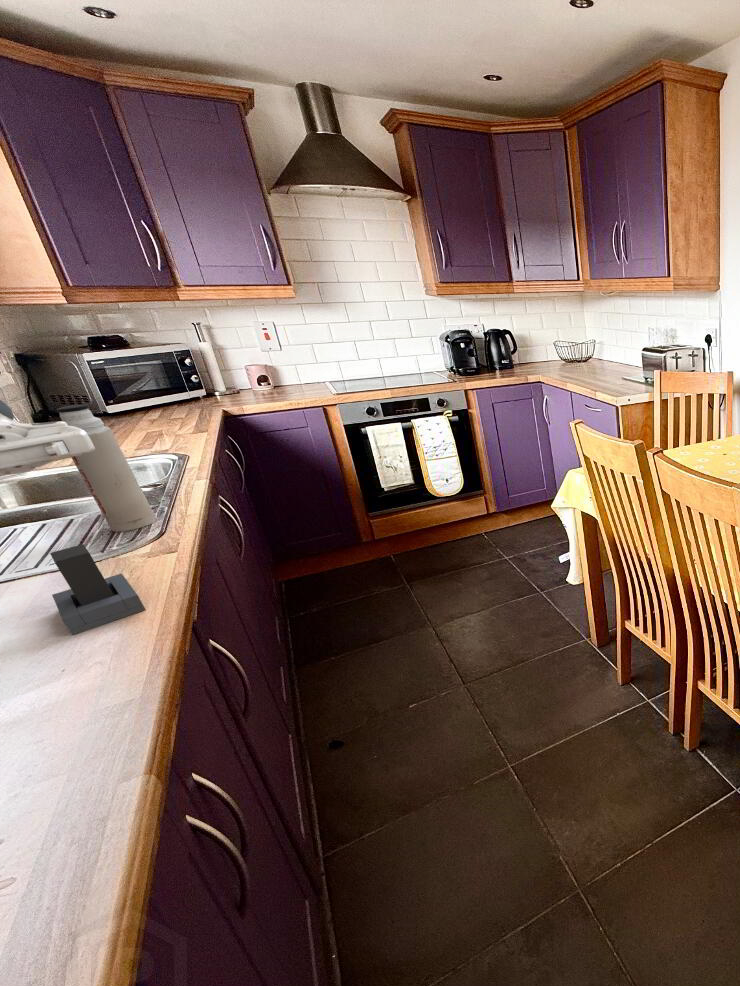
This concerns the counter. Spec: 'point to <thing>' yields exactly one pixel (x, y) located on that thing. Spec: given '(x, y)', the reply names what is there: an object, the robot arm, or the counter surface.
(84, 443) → the robot arm
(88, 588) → the dark grey rectangular block
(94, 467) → the thermos bottle
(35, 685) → the counter surface
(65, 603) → the slotted base pad
